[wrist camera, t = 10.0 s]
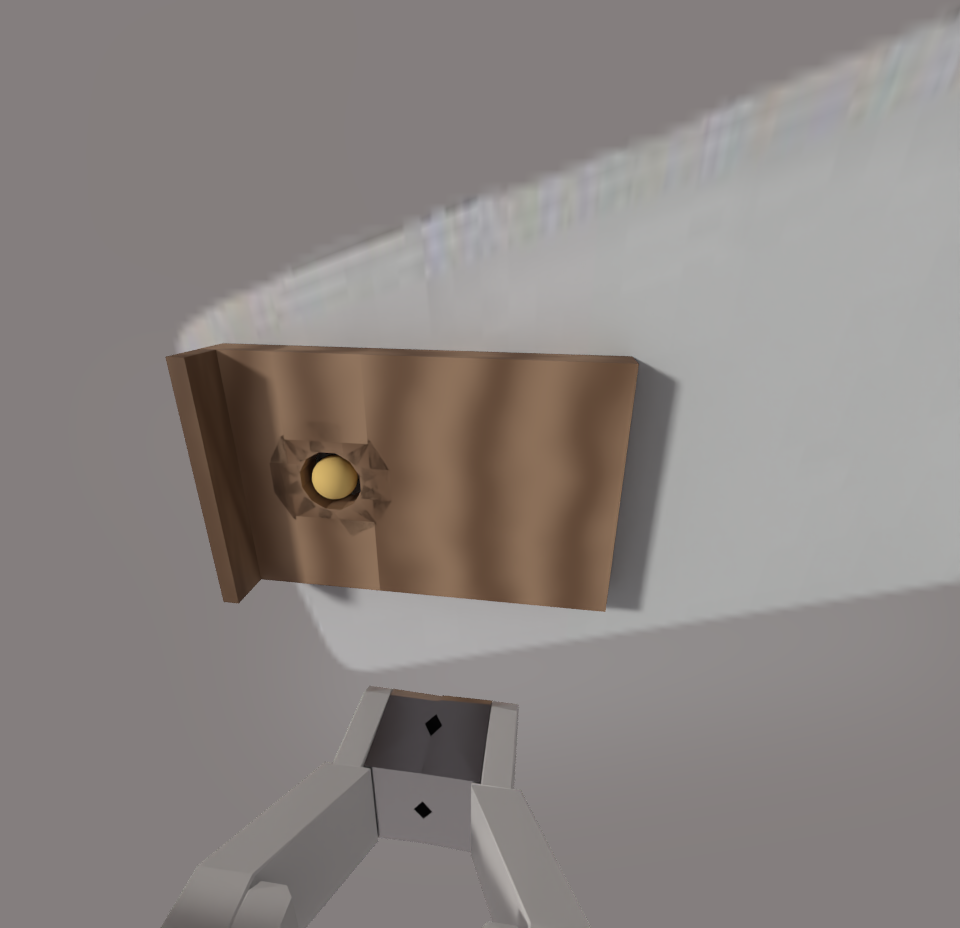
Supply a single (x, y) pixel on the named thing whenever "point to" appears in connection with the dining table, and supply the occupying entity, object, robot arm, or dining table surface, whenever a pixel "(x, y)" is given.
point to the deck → (410, 468)
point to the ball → (334, 477)
